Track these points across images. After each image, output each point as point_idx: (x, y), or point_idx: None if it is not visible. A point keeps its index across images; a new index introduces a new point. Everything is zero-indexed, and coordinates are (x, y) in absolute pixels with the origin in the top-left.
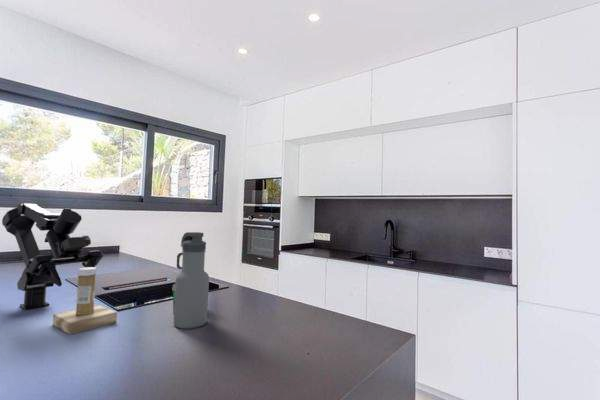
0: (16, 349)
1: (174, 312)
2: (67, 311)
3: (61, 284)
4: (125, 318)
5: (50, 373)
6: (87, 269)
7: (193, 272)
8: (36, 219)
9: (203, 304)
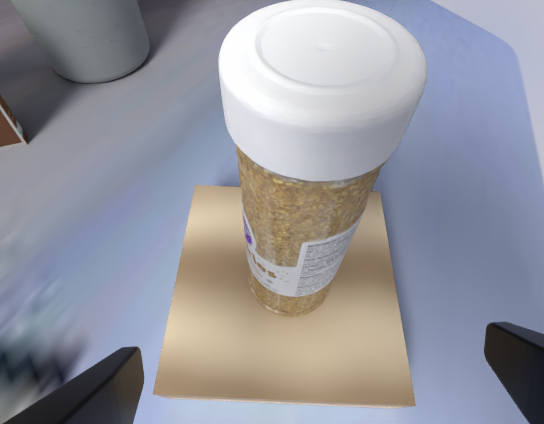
0: (523, 215)
1: (128, 27)
2: (340, 394)
3: (490, 324)
4: (152, 224)
5: (450, 57)
6: (350, 3)
7: None
8: None
9: None
